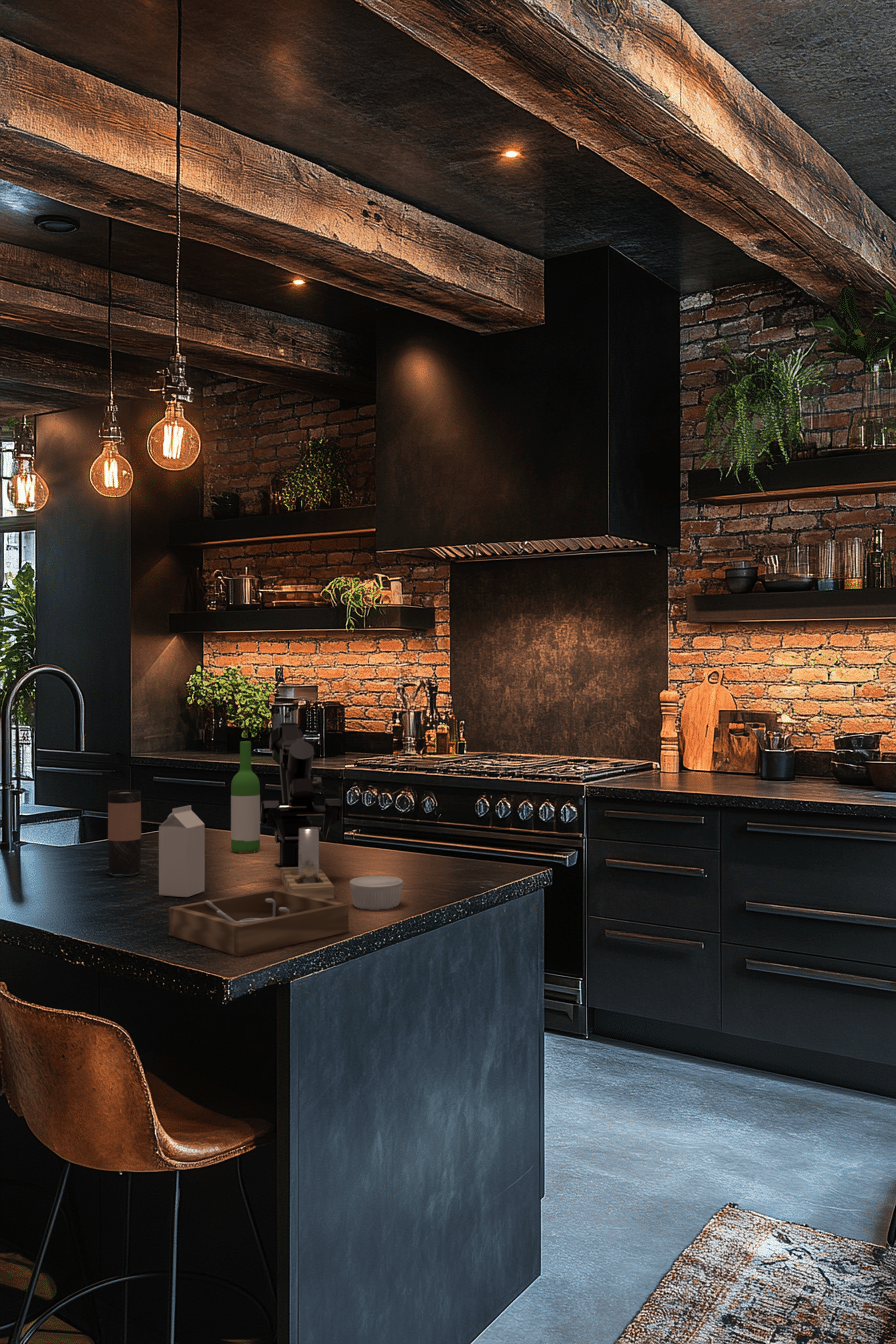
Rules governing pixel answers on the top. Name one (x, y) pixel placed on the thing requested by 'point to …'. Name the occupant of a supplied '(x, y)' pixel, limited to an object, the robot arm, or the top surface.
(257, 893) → the tray
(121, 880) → the top surface
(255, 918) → the wall mount rack
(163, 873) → the milk carton
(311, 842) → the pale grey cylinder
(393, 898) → the ramekin
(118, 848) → the travel mug
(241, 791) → the wine bottle
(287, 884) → the wooden slotted holder
